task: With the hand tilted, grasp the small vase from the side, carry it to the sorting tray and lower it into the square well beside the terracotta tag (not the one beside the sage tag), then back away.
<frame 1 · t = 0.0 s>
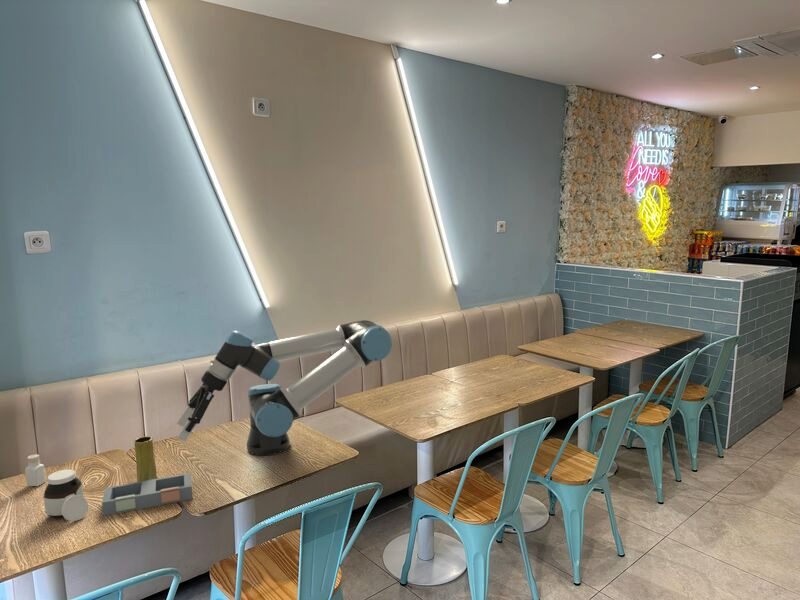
hand: (180, 432, 187), 15 cm above the table, tool tilted 35°, fingers open, 13 cm apart
salt shaker: (36, 485, 186), on the table
vase: (147, 482, 186), on the table
spread jar: (70, 515, 167), on the table
sorting tray: (149, 499, 174), on the table
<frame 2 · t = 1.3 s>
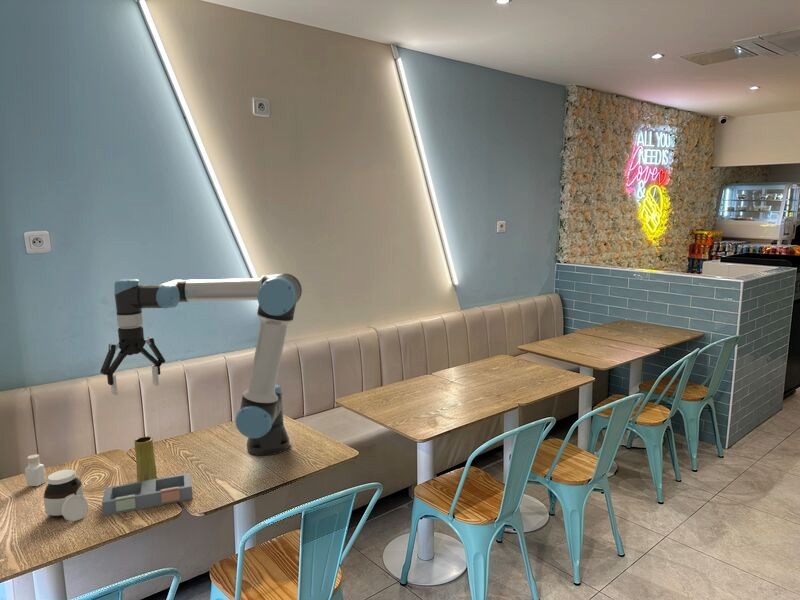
hand: (135, 389, 194), 27 cm above the table, tool pointing down, fingers open, 13 cm apart
nothing on the table moved.
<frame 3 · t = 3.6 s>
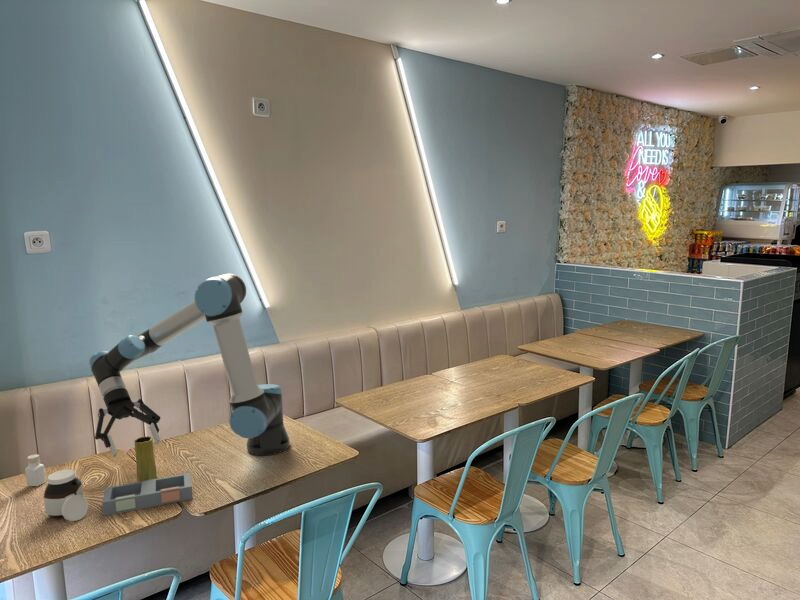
hand: (137, 448, 186), 11 cm above the table, tool tilted 45°, fingers open, 13 cm apart
nothing on the table moved.
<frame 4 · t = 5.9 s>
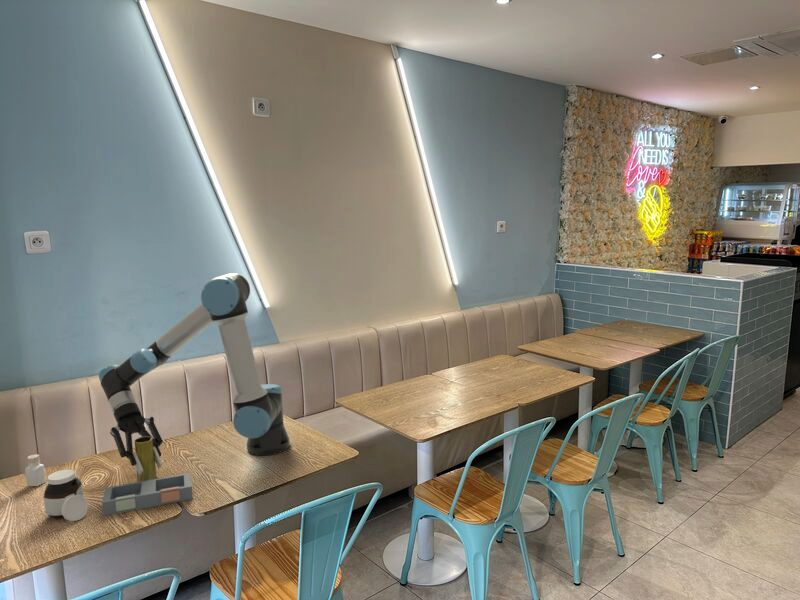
hand: (150, 469, 183), 5 cm above the table, tool tilted 45°, fingers closed on vase, 5 cm apart
vase: (147, 482, 186), on the table, touching gripper
everything else where it was.
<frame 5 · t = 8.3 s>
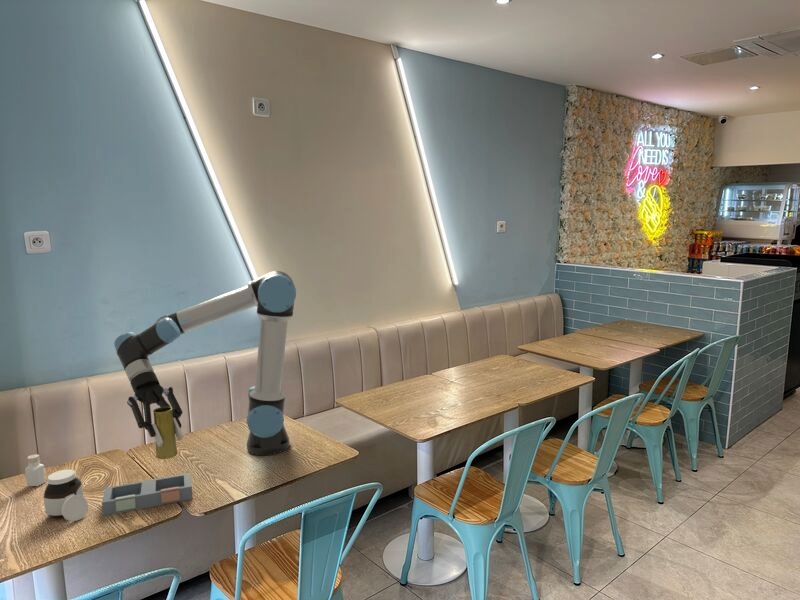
hand: (170, 441, 171), 18 cm above the table, tool tilted 45°, fingers closed on vase, 5 cm apart
vase: (167, 455, 175), point 13 cm above the table, touching gripper
everything else where it was.
when the fingers open (8 cm above the table, at t = 10.9 s): vase drops 1 cm, resting on sorting tray.
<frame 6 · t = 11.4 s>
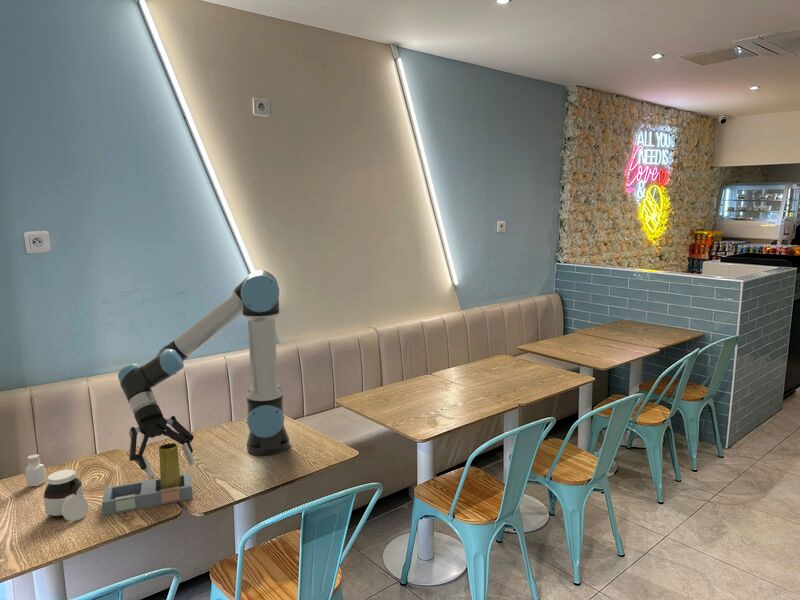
hand: (172, 470, 173), 9 cm above the table, tool tilted 45°, fingers open, 12 cm apart
vase: (171, 492, 177), point 1 cm above the table, touching sorting tray
everything else where it was.
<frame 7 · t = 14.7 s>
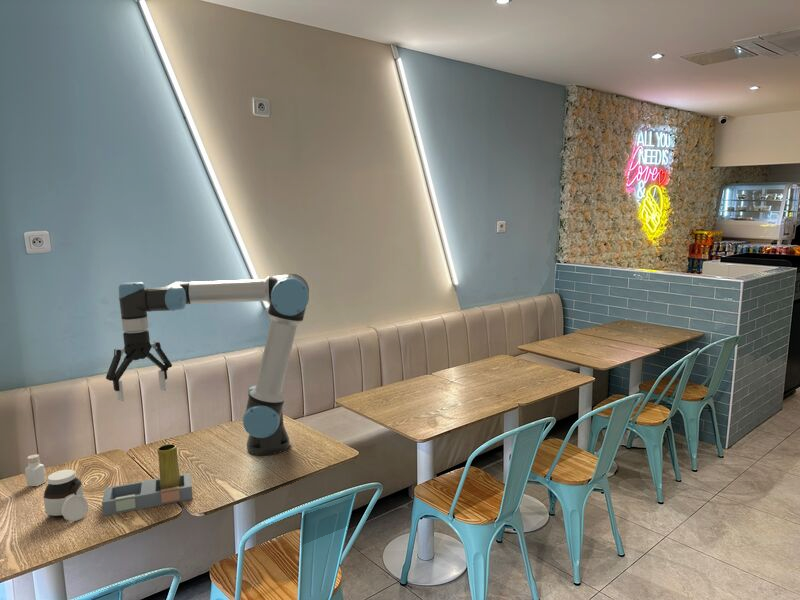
hand: (142, 394, 189), 27 cm above the table, tool pointing down, fingers open, 13 cm apart
nothing on the table moved.
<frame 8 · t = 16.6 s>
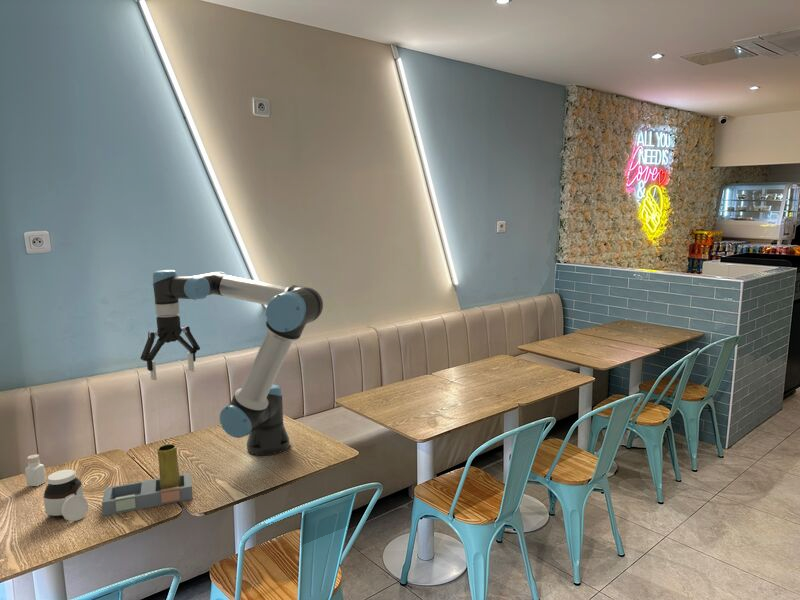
hand: (173, 375, 204), 29 cm above the table, tool pointing down, fingers open, 13 cm apart
nothing on the table moved.
at the end: vase 0.1 cm from the target spot on the sorting tray, point 0.8 cm above the sorting tray's base; vase tilted 1°; the gripper is holding nothing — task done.
